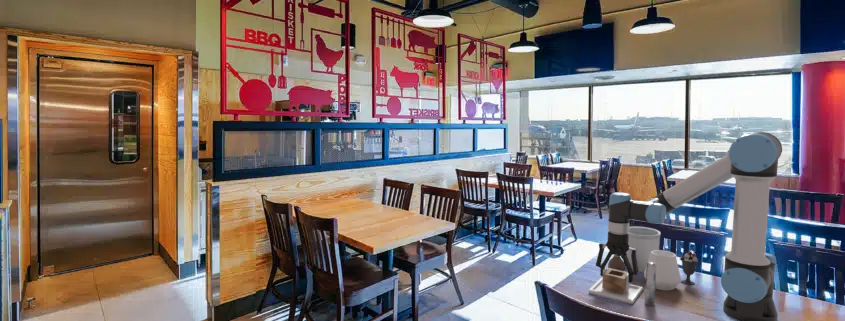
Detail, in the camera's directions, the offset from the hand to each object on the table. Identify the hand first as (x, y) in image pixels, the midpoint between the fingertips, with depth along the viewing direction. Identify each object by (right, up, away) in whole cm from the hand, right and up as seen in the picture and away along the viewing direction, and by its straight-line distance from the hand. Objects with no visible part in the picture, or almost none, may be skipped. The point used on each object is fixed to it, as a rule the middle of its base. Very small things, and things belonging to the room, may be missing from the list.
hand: (615, 287), depth 167 cm
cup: (+22, -1, +6) cm, 22 cm away
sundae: (+34, -1, +8) cm, 35 cm away
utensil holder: (+24, +1, +26) cm, 35 cm away
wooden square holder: (0, 0, 0) cm, 0 cm away
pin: (+7, -3, -11) cm, 14 cm away
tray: (0, -2, 0) cm, 2 cm away
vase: (+8, 0, +18) cm, 20 cm away
